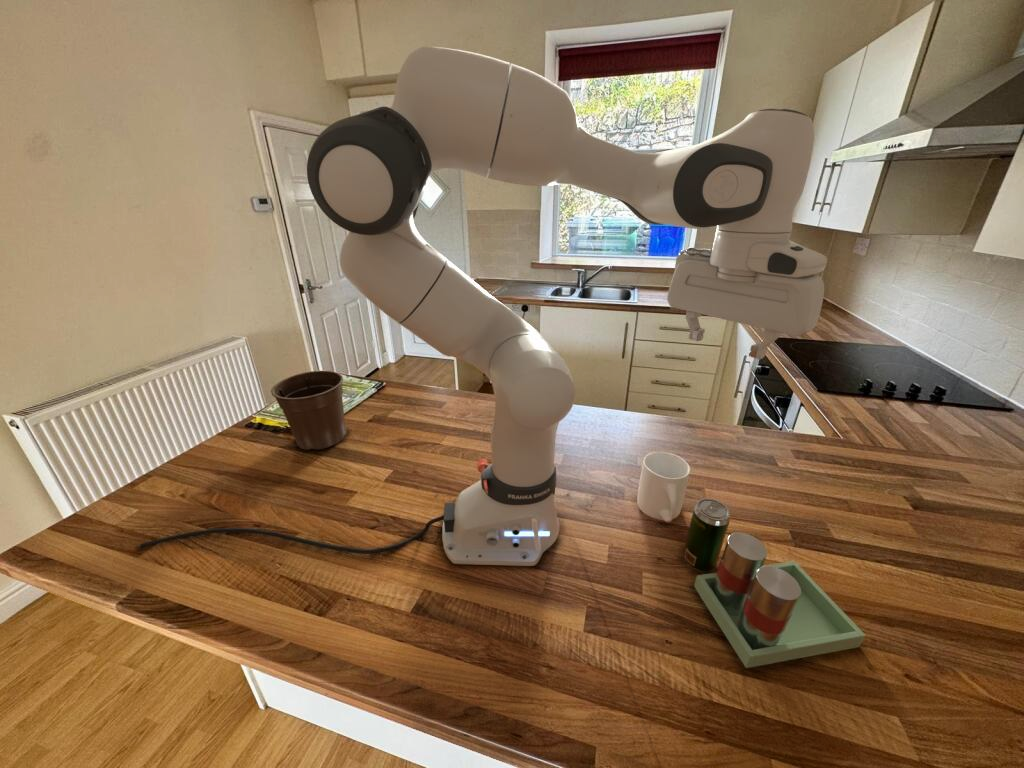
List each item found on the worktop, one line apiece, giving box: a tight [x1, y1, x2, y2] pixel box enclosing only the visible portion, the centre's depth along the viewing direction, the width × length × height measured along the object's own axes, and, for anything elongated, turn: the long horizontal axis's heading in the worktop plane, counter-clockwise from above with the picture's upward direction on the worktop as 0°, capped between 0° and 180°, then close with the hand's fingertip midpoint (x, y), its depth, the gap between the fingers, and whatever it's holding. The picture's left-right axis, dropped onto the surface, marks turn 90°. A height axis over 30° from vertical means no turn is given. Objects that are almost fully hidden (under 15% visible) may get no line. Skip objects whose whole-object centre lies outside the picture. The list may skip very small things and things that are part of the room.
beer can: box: [682, 497, 731, 573], centre depth 67 cm, size 5×5×12 cm
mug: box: [636, 451, 691, 523], centre depth 78 cm, size 9×12×11 cm
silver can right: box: [736, 565, 801, 650], centre depth 55 cm, size 5×5×12 cm
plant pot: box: [270, 370, 348, 451], centre depth 102 cm, size 16×16×16 cm
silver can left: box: [712, 532, 768, 616], centre depth 60 cm, size 5×5×12 cm
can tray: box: [693, 560, 867, 669], centre depth 60 cm, size 18×13×3 cm
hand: (724, 348), depth 61 cm, fingers open, 8 cm apart
